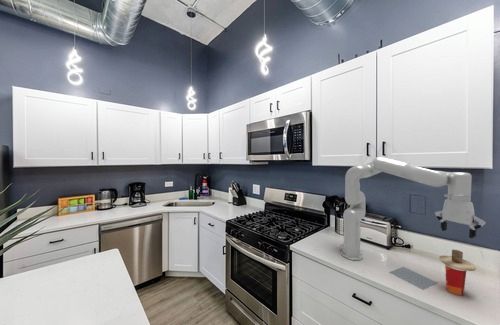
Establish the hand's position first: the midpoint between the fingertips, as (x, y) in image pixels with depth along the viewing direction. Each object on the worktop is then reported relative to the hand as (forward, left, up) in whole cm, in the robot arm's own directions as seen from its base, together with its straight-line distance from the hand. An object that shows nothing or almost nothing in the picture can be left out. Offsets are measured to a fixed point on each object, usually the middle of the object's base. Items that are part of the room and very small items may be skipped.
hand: (457, 233), depth 95 cm
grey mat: (-15, -6, -28) cm, 32 cm away
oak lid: (0, 0, -14) cm, 14 cm away
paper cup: (0, 0, -28) cm, 29 cm away
